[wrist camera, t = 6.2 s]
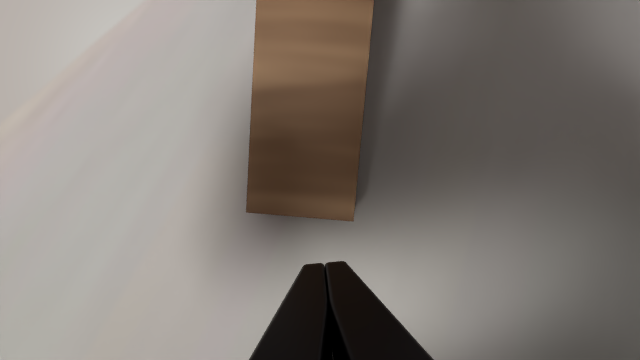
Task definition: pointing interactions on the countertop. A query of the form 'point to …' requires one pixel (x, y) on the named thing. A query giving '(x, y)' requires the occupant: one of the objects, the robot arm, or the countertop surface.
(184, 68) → the countertop surface
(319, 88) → the domino
